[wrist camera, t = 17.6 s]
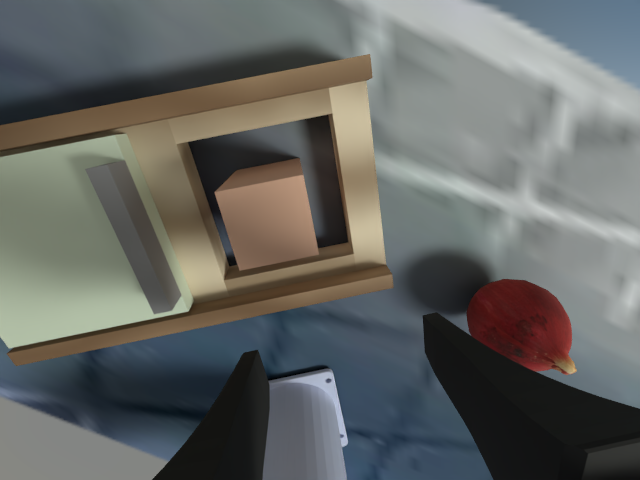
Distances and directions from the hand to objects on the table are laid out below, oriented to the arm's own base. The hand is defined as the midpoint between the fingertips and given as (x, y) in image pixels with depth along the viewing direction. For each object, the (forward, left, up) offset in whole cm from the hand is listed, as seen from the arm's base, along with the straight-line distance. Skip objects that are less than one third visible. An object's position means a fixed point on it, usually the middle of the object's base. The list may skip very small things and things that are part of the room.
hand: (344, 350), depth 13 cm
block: (+5, +2, -10) cm, 11 cm away
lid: (+5, +14, -7) cm, 17 cm away
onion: (-6, -12, -10) cm, 16 cm away
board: (+5, +8, -9) cm, 13 cm away
